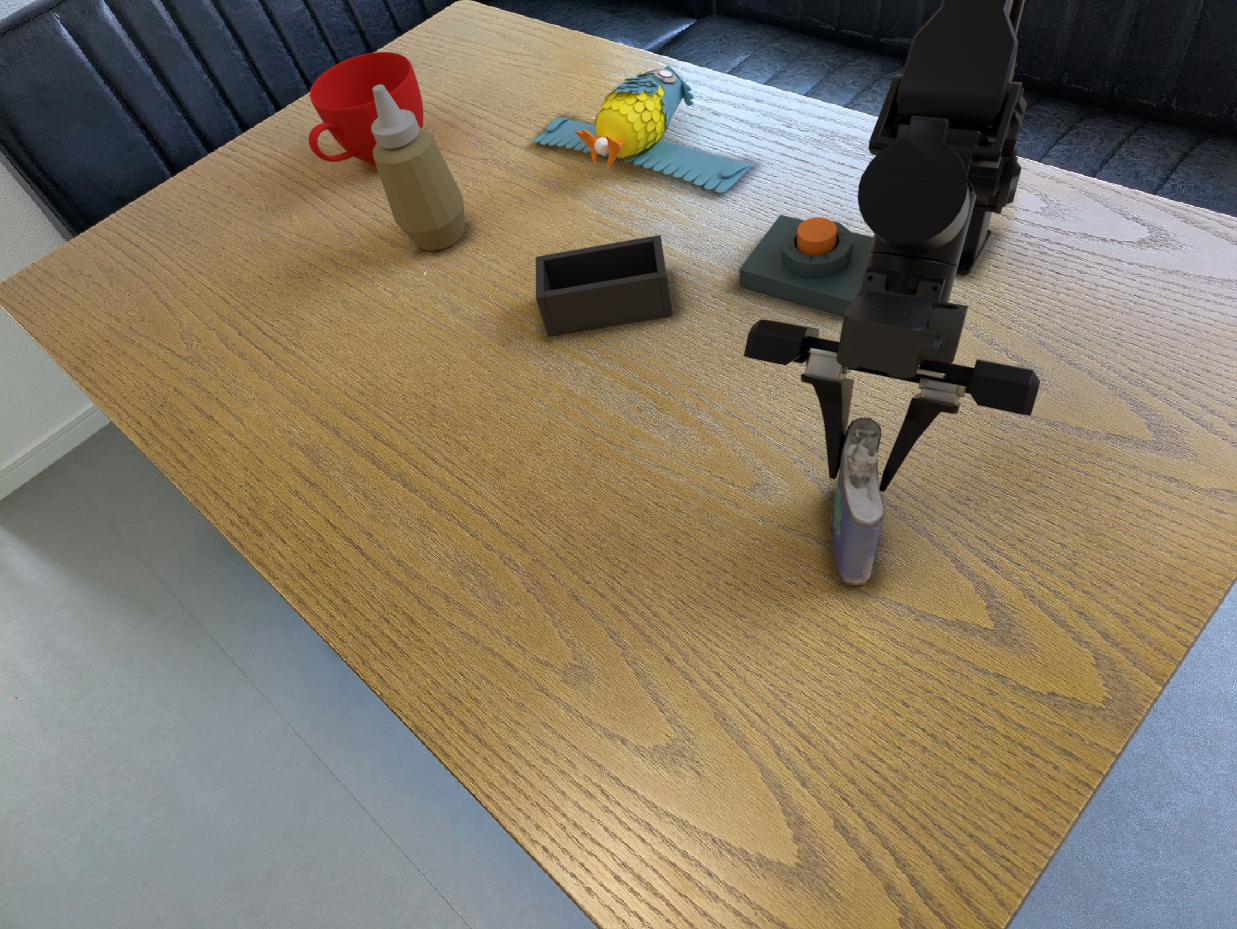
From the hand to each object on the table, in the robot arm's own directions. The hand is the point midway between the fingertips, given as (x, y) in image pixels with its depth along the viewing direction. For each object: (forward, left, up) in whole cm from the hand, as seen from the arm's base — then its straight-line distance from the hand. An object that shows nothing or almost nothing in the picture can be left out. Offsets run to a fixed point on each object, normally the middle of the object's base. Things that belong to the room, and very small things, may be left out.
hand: (856, 484), depth 58 cm
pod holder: (+32, -14, -7) cm, 35 cm away
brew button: (+15, -26, -3) cm, 30 cm away
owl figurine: (+43, -38, -7) cm, 58 cm away
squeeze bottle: (+57, -16, -7) cm, 60 cm away
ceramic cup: (+75, -25, -7) cm, 79 cm away
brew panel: (+15, -26, -7) cm, 31 cm away
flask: (0, 0, -7) cm, 7 cm away
